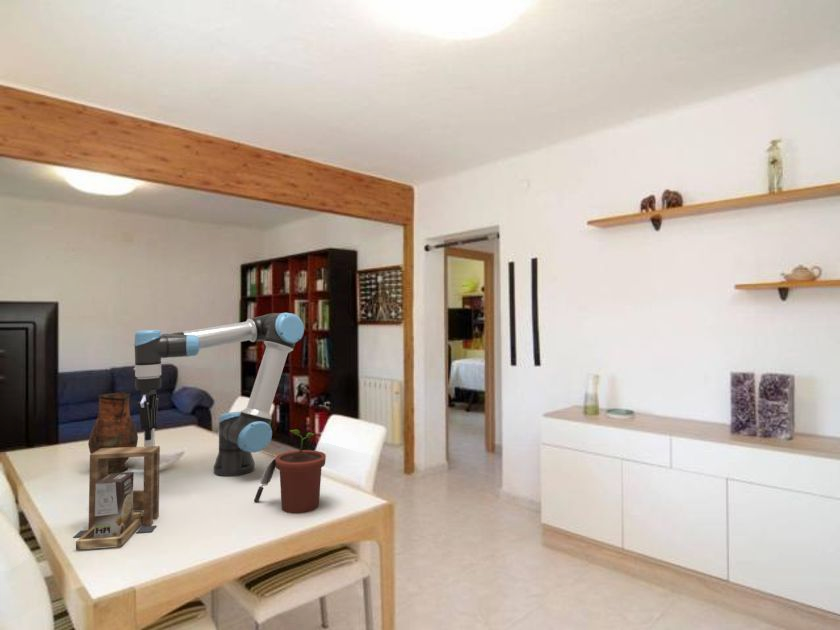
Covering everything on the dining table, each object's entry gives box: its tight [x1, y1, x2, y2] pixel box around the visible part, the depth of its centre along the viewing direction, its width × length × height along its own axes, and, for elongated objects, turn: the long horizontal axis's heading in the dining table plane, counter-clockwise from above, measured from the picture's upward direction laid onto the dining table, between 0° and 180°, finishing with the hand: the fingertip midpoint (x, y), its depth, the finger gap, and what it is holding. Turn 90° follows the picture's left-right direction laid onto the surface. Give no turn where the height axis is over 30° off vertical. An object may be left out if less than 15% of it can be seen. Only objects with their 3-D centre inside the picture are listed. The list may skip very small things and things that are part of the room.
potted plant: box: [253, 429, 327, 515], centre depth 157 cm, size 18×22×25 cm
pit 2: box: [135, 525, 158, 534], centre depth 137 cm, size 4×4×1 cm
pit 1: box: [72, 529, 89, 539], centre depth 134 cm, size 4×4×1 cm
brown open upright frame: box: [88, 445, 161, 530], centre depth 141 cm, size 16×7×21 cm, turn 101°
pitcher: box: [88, 392, 139, 475], centre depth 193 cm, size 17×21×30 cm
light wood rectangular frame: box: [75, 489, 144, 550], centre depth 138 cm, size 11×26×6 cm, turn 11°
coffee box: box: [93, 471, 135, 539], centre depth 133 cm, size 9×6×16 cm
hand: (149, 449), depth 159 cm, fingers closed
